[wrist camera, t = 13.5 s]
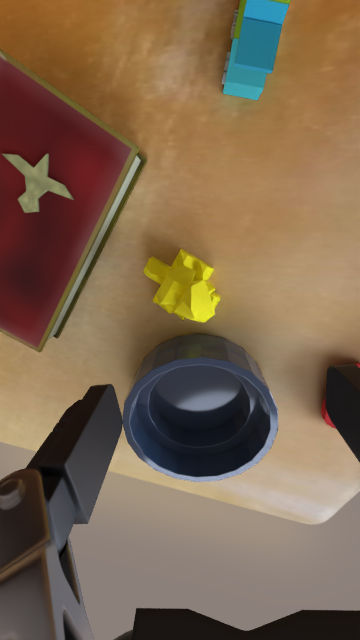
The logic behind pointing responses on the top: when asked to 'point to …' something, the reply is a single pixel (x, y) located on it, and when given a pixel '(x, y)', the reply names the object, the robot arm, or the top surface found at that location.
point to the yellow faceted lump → (184, 286)
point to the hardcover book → (53, 201)
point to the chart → (253, 46)
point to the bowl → (200, 409)
